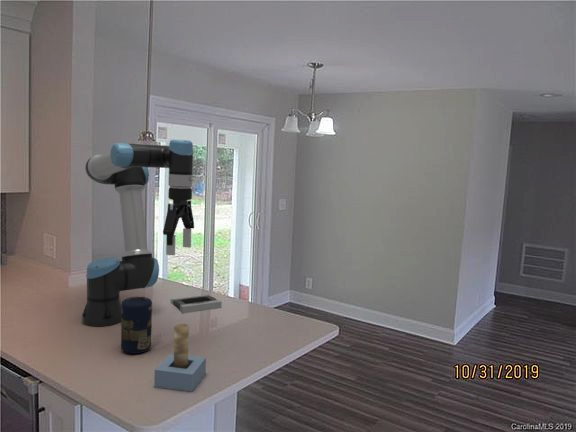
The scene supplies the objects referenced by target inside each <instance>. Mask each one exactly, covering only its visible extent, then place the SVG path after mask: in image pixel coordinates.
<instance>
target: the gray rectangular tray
mask: <svg viewBox="0 0 576 432" xmlns="http://www.w3.org/2000/svg"><path fill="white" fill-rule="evenodd" d="M169 303H170V304H171V305H175V306H176V307H177V308H178V309H179V310H180V312H181V314H188V313H189V314H190V313H196V312H202V311H211V310H216V309H222V303H223V301H222V300H219V299H217V298H215V297H213V296H211V295H210V294H201V295H195V296H188V297H187V296H186V297H180V298H171V299H170V302H169Z"/></svg>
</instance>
